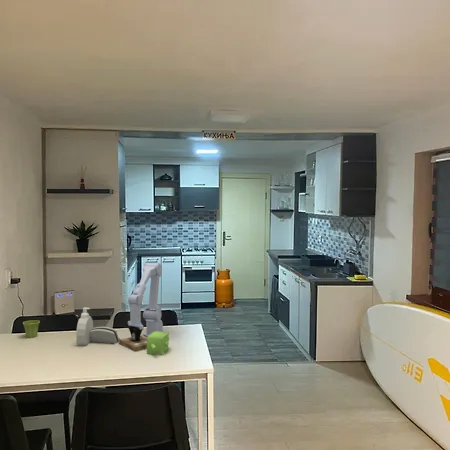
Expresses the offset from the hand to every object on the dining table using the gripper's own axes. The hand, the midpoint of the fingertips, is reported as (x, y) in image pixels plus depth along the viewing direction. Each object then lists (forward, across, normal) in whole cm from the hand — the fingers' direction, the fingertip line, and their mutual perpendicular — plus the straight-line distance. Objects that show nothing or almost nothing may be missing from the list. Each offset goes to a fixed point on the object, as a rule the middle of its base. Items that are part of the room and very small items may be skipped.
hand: (135, 339), depth 246 cm
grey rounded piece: (+3, -16, -11) cm, 20 cm away
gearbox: (+3, +20, +3) cm, 20 cm away
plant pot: (+3, -55, -40) cm, 68 cm away
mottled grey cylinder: (+2, 0, 0) cm, 2 cm away
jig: (+3, +2, 0) cm, 4 cm away
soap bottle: (+3, -22, -20) cm, 30 cm away
